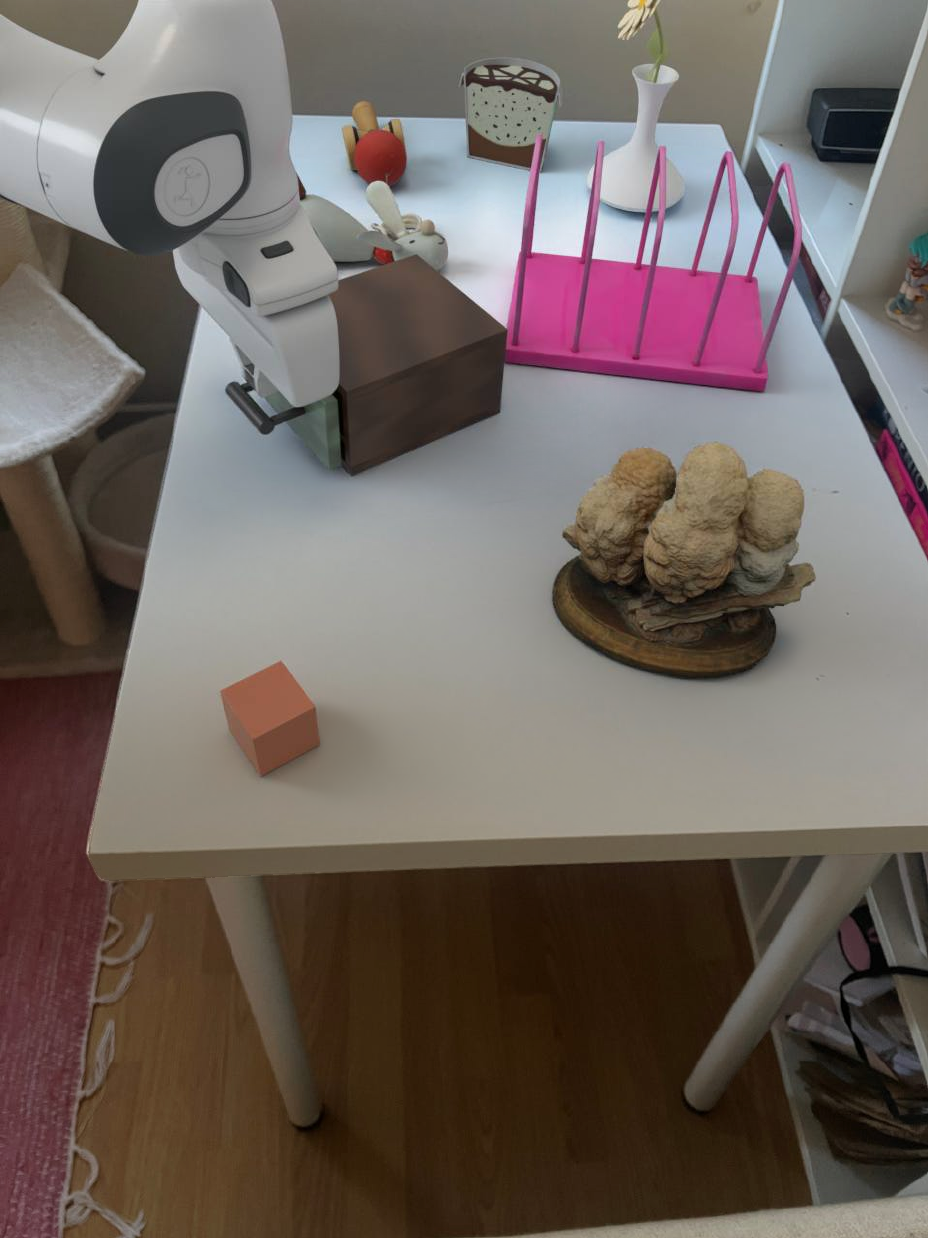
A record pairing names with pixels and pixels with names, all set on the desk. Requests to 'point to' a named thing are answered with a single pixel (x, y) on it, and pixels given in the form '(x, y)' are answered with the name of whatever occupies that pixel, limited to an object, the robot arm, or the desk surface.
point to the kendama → (375, 146)
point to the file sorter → (645, 300)
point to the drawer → (298, 420)
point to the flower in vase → (642, 126)
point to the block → (270, 717)
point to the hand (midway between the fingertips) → (261, 386)
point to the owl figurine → (683, 562)
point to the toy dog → (387, 244)
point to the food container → (509, 109)
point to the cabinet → (412, 361)
